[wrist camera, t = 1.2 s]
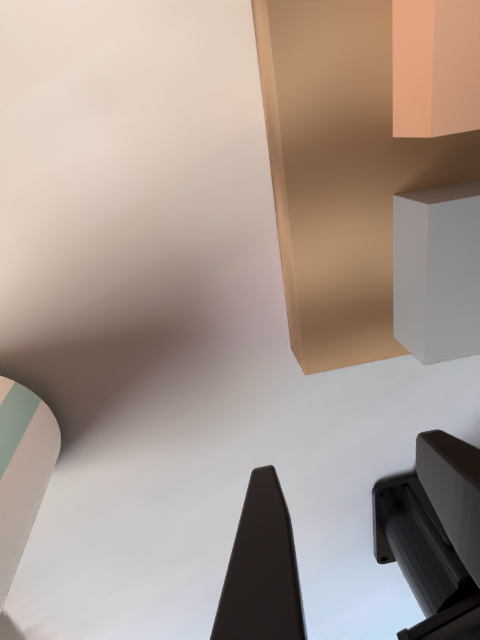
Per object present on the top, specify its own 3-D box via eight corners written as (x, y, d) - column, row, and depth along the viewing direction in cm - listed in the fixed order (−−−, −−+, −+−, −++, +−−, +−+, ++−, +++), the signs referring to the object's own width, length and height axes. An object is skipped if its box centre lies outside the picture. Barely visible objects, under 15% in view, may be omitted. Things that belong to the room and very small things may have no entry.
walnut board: (523, 303, 22) (563, 322, 19) (291, 349, 21) (305, 375, 19) (577, -115, 15) (648, -159, 13) (243, -69, 14) (255, -107, 12)
